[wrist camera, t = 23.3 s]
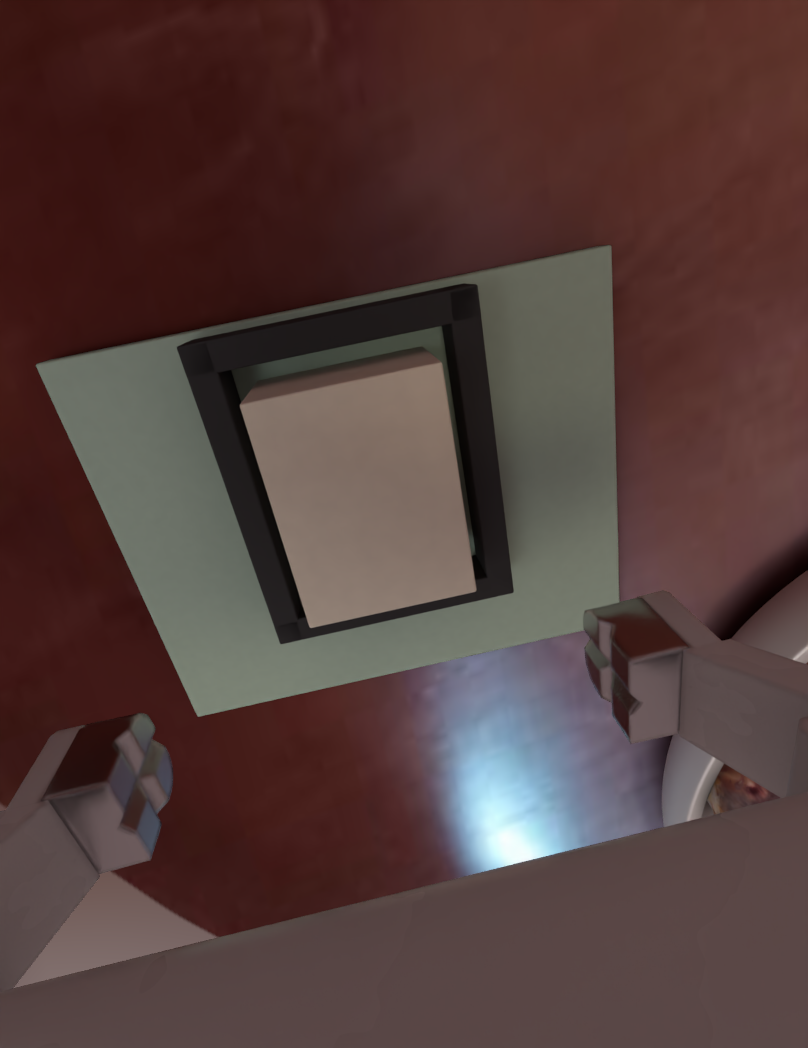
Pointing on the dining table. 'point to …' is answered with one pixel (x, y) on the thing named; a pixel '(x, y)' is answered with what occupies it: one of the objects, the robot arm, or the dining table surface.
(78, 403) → the base mat
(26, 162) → the dining table surface
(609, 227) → the dining table surface
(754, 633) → the bowl
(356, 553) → the beige rectangular block
